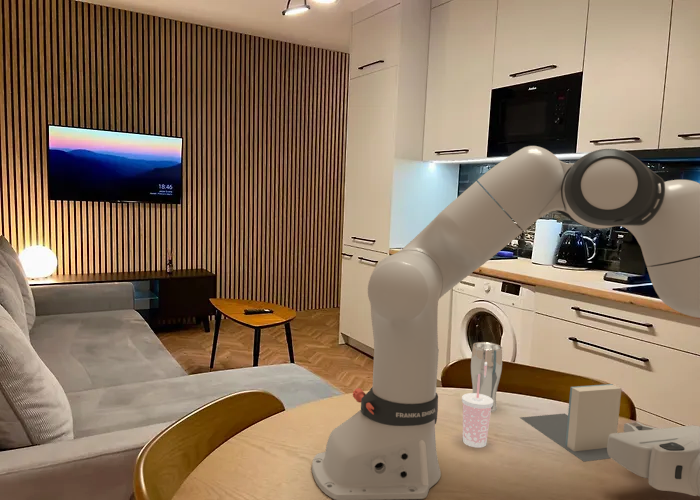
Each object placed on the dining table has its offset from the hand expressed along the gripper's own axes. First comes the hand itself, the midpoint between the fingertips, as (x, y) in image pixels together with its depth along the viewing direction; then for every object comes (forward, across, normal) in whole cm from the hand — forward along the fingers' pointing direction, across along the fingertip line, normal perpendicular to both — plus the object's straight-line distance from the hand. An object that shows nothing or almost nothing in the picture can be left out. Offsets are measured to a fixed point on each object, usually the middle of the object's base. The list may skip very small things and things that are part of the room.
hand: (630, 426), depth 94 cm
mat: (+14, 0, +8) cm, 16 cm away
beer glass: (+31, +11, +9) cm, 34 cm away
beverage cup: (+16, +22, +9) cm, 28 cm away
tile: (+9, 0, +8) cm, 12 cm away
